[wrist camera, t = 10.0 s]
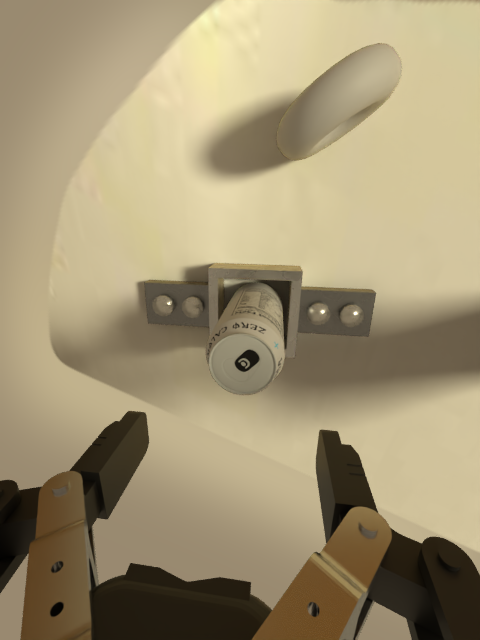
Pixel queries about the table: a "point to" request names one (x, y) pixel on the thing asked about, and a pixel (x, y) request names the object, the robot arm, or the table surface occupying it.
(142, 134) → the table surface
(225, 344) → the energy drink can
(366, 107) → the donut
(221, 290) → the mounting bracket
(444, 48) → the table surface
